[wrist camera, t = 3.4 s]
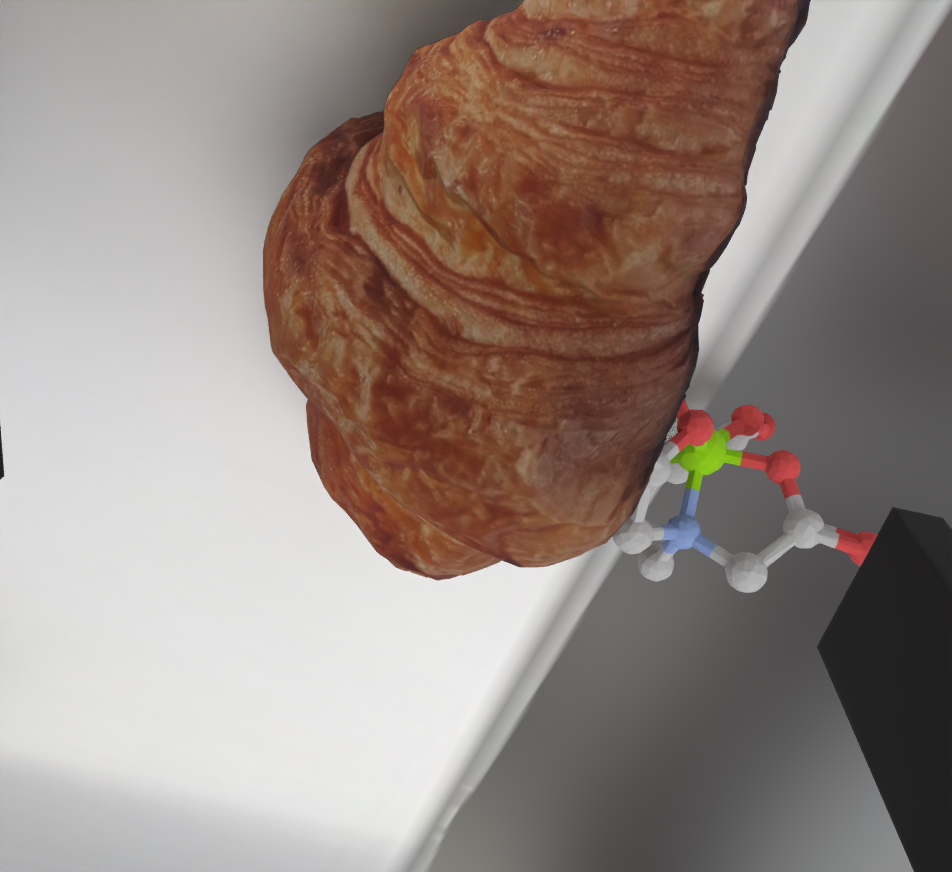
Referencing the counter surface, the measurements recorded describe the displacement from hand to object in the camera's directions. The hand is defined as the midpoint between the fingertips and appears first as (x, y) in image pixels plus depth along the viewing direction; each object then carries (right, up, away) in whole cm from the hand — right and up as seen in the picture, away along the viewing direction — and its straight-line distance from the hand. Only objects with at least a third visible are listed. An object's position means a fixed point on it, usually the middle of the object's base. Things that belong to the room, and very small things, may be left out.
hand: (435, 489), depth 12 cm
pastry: (+3, +3, +9) cm, 11 cm away
